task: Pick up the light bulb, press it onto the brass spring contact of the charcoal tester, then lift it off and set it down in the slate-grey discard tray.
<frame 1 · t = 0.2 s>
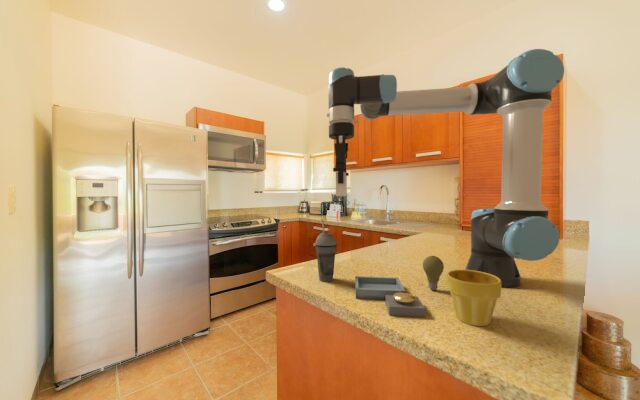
hand: (341, 196, 76), 28 cm above the counter, tool pointing down, fingers open, 13 cm apart
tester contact: (404, 297, 62), point 3 cm above the counter, slide at 0.0 cm
tray: (378, 291, 74), on the counter
beverage cup: (326, 280, 85), on the counter
light bulb: (433, 290, 75), on the counter
tester: (404, 309, 62), on the counter
plant pot: (472, 320, 57), on the counter
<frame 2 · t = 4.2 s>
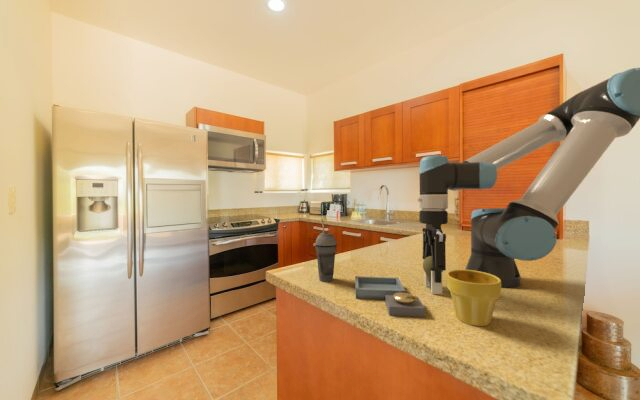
hand: (433, 288, 75), 0 cm above the counter, tool pointing down, fingers closed on light bulb, 6 cm apart
light bulb: (433, 290, 75), on the counter, touching gripper
everything else where it was.
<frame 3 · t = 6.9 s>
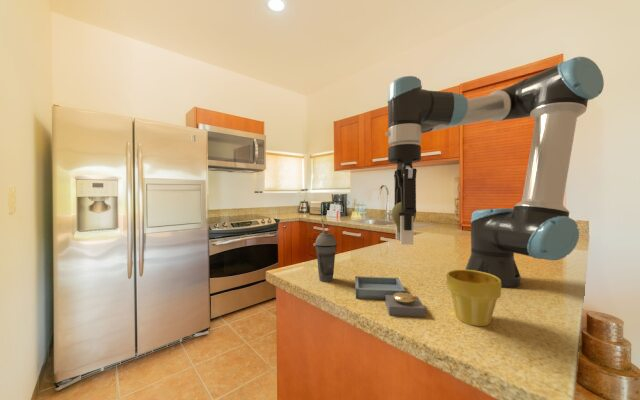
hand: (404, 241, 62), 17 cm above the counter, tool pointing down, fingers closed on light bulb, 6 cm apart
light bulb: (403, 243, 62), point 16 cm above the counter, touching gripper
everything else where it was.
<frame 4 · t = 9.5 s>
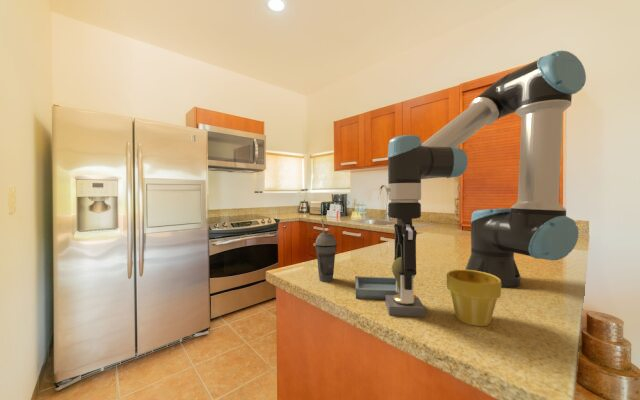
hand: (404, 296, 62), 3 cm above the counter, tool pointing down, fingers closed on light bulb, 6 cm apart
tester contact: (404, 299, 62), point 2 cm above the counter, slide at -0.4 cm, touching light bulb
light bulb: (403, 298, 62), point 3 cm above the counter, touching gripper, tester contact
everything else where it was.
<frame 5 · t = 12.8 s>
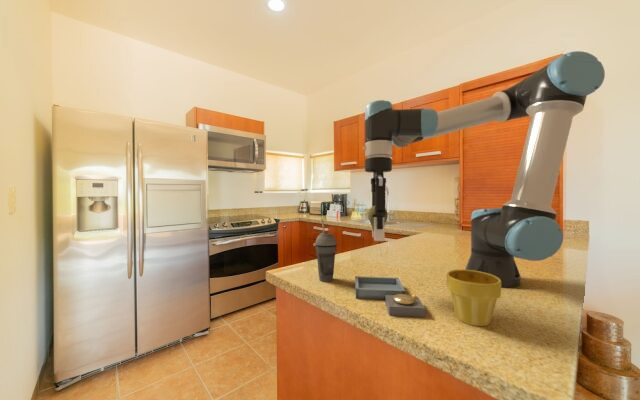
hand: (378, 238, 73), 15 cm above the counter, tool pointing down, fingers closed on light bulb, 6 cm apart
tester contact: (404, 299, 62), point 2 cm above the counter, slide at -0.4 cm
light bulb: (377, 240, 73), point 15 cm above the counter, touching gripper
everything else where it was.
when the fingers open (3 cm above the counter, at t = 15.2 s): light bulb drops 2 cm, resting on tray.
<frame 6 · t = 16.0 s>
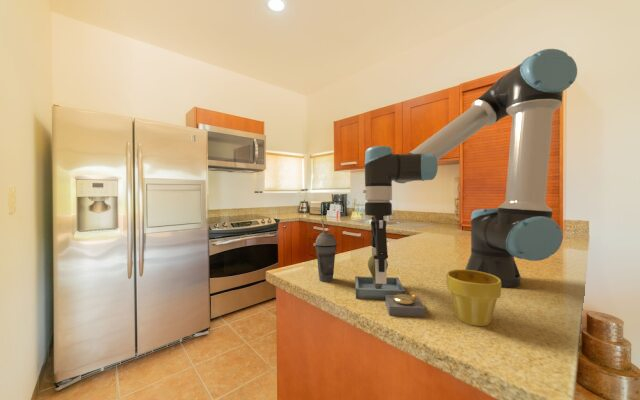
hand: (378, 275, 74), 5 cm above the counter, tool pointing down, fingers open, 13 cm apart
light bulb: (378, 289, 74), point 1 cm above the counter, touching tray
everything else where it was.
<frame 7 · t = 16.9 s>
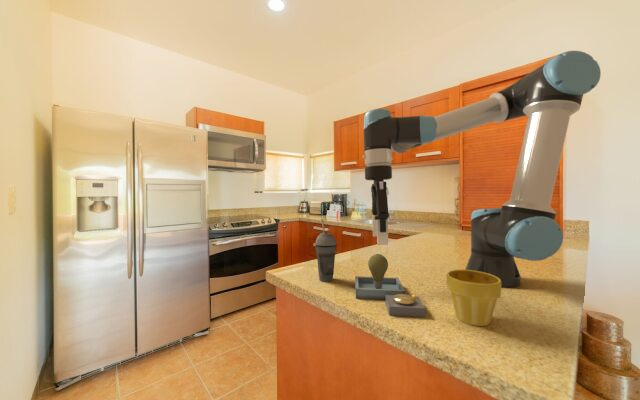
hand: (379, 240, 73), 15 cm above the counter, tool pointing down, fingers open, 13 cm apart
nothing on the counter moved.
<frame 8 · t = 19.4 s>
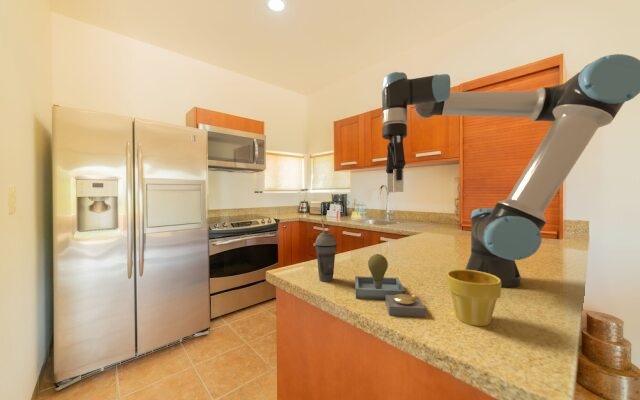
hand: (394, 192, 81), 29 cm above the counter, tool pointing down, fingers open, 13 cm apart
nothing on the counter moved.
at the end: light bulb inside the target area on the tray (0.1 cm from its centre), point 0.6 cm above the tray's base; the gripper is holding nothing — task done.
